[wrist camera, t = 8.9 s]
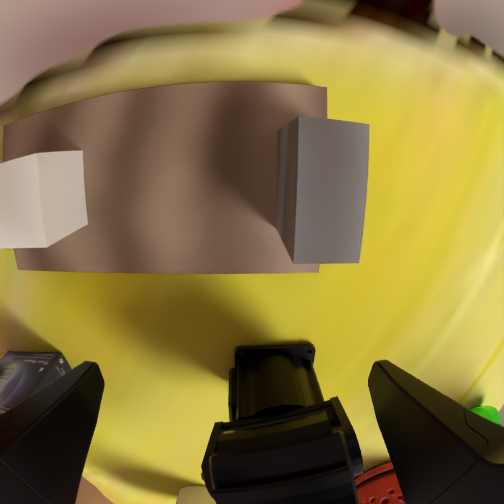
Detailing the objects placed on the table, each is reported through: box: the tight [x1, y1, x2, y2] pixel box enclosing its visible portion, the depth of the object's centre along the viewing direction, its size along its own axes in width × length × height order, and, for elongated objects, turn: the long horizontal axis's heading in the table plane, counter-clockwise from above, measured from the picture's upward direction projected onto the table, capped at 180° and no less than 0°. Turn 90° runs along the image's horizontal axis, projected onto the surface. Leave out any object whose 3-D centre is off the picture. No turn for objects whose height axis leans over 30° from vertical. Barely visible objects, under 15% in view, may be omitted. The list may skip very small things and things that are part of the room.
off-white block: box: [0, 150, 88, 248], centre depth 14 cm, size 5×5×5 cm
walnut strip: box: [3, 82, 369, 274], centre depth 14 cm, size 24×12×7 cm, turn 89°
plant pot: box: [355, 462, 405, 504], centre depth 28 cm, size 13×13×12 cm
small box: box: [0, 351, 71, 415], centre depth 18 cm, size 11×6×10 cm, turn 101°
